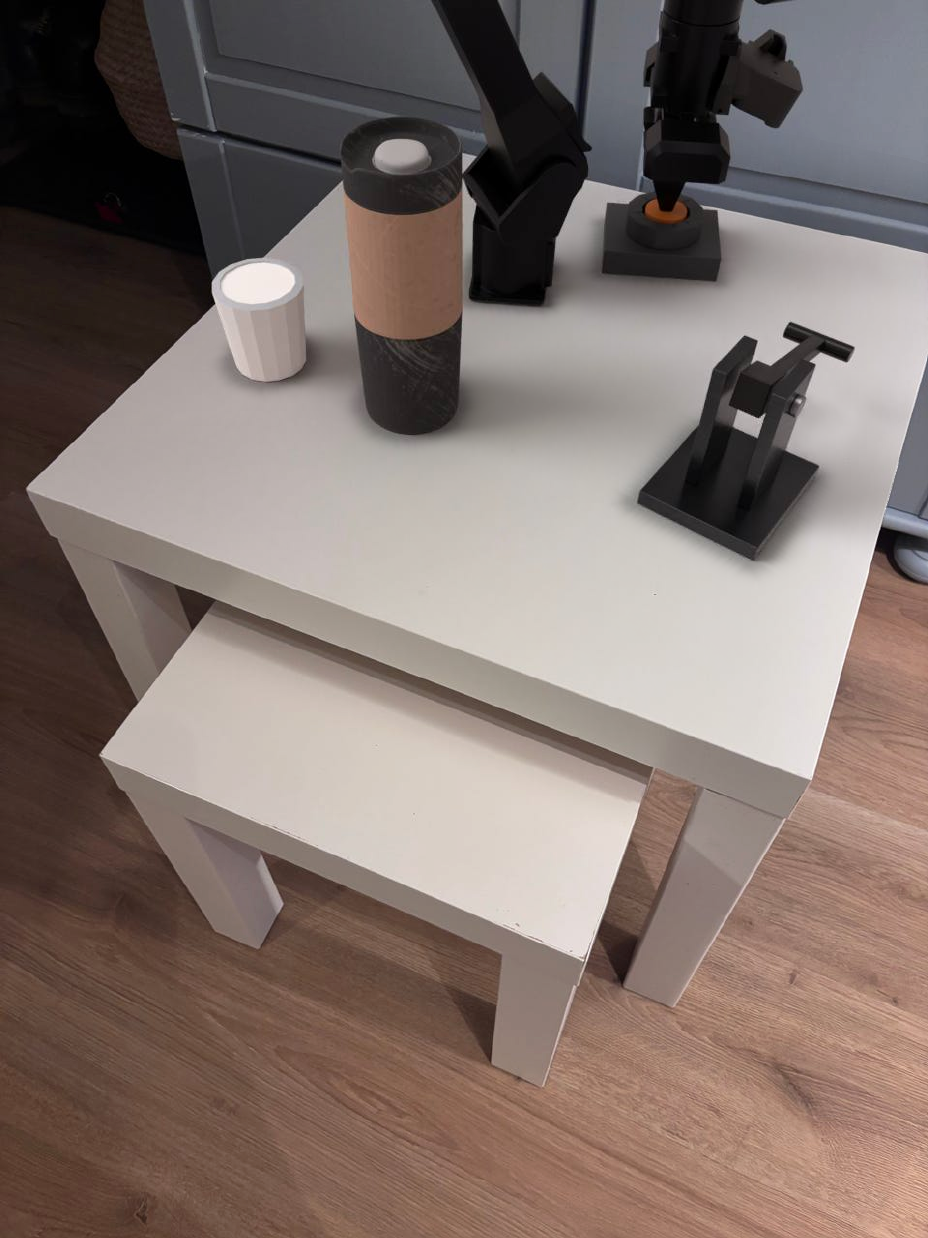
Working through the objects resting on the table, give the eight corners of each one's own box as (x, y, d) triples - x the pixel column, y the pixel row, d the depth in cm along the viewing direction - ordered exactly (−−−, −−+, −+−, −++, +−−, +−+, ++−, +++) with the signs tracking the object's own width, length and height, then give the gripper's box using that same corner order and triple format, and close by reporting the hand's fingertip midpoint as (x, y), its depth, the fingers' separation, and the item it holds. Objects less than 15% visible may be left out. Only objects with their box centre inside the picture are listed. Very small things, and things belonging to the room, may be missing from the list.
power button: (642, 237, 86) (645, 218, 84) (642, 215, 88) (645, 196, 86) (683, 240, 85) (687, 221, 84) (683, 218, 88) (686, 199, 86)
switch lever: (783, 342, 73) (795, 311, 72) (846, 368, 71) (860, 337, 70) (708, 397, 63) (720, 362, 62) (779, 428, 62) (793, 393, 60)
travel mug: (475, 384, 77) (481, 126, 61) (442, 447, 72) (439, 185, 57) (384, 363, 78) (367, 106, 62) (346, 423, 74) (317, 163, 58)
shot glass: (329, 346, 80) (320, 269, 74) (285, 396, 76) (272, 318, 70) (257, 324, 81) (243, 247, 76) (210, 372, 77) (192, 294, 72)
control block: (601, 273, 86) (607, 231, 83) (604, 224, 91) (609, 182, 88) (716, 281, 86) (726, 239, 83) (712, 231, 91) (721, 190, 87)
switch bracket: (703, 427, 74) (736, 302, 65) (815, 477, 71) (864, 353, 62) (636, 503, 69) (662, 378, 60) (752, 561, 66) (797, 438, 57)
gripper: (826, 72, 67) (767, 276, 79) (799, -31, 78) (752, 161, 90) (661, 62, 67) (629, 266, 80) (659, -39, 79) (631, 154, 91)
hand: (665, 209), depth 85 cm, fingers closed, pressing on power button
